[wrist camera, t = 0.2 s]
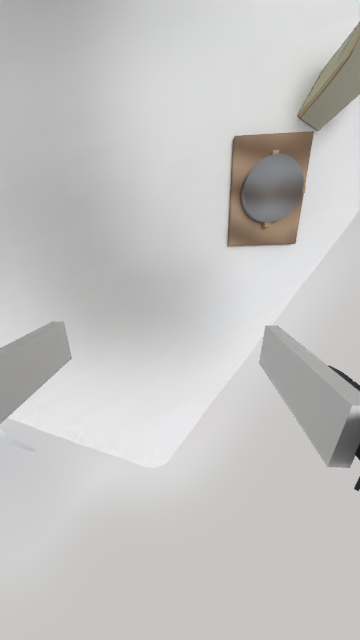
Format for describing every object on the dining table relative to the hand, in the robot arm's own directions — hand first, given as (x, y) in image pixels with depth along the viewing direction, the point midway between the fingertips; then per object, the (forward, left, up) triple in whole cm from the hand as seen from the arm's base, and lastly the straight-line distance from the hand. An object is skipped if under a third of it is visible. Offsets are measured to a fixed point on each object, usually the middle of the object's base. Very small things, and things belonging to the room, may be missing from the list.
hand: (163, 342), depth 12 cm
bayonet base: (-15, +16, -28) cm, 35 cm away
